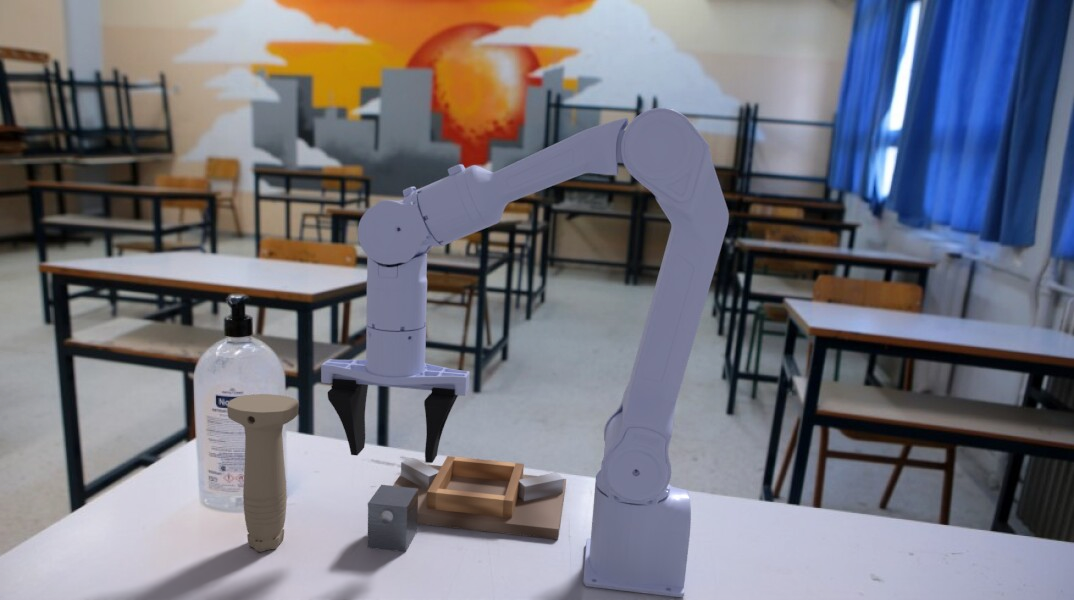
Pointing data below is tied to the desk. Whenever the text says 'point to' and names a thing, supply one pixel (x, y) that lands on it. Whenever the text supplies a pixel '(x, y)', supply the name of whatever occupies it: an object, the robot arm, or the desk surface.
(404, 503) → the block
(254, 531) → the handle
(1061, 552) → the desk surface
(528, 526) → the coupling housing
